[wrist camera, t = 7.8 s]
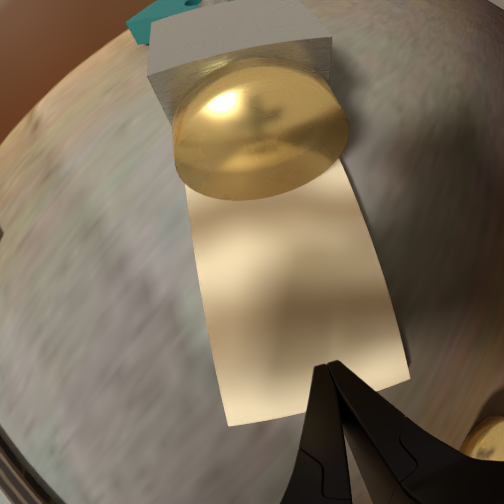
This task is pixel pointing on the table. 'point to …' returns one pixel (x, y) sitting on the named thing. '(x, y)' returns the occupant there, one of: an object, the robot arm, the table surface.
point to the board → (292, 295)
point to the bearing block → (231, 43)
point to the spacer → (486, 440)
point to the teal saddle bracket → (157, 16)
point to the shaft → (257, 129)
